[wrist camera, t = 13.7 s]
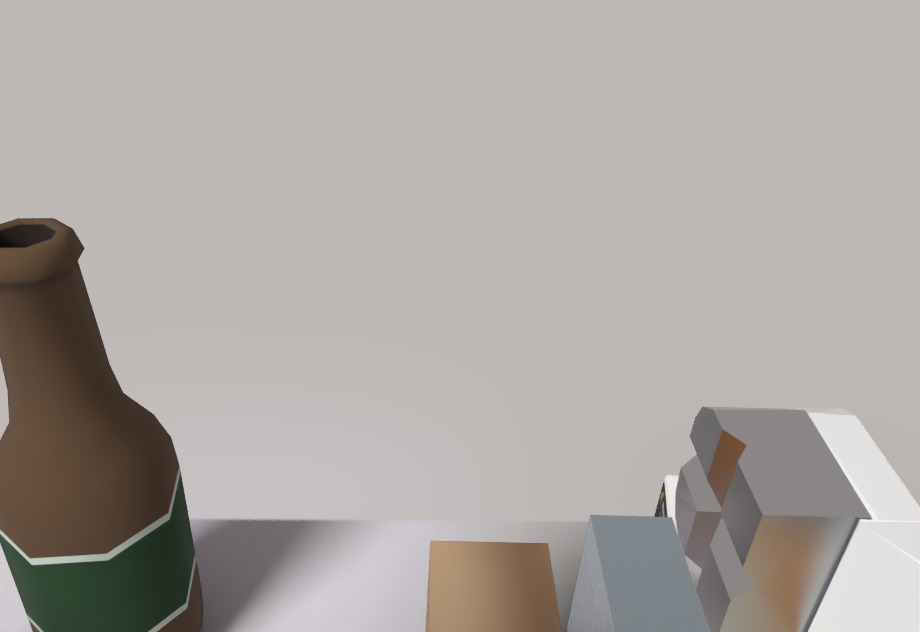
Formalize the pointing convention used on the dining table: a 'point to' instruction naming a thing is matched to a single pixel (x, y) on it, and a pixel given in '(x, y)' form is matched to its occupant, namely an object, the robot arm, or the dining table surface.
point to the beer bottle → (83, 460)
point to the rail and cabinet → (634, 579)
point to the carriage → (491, 588)
